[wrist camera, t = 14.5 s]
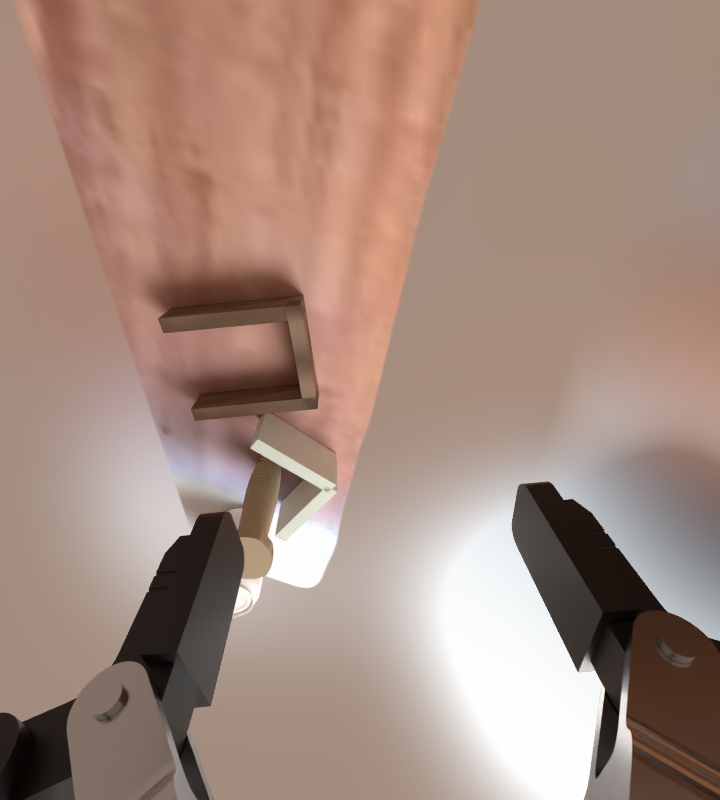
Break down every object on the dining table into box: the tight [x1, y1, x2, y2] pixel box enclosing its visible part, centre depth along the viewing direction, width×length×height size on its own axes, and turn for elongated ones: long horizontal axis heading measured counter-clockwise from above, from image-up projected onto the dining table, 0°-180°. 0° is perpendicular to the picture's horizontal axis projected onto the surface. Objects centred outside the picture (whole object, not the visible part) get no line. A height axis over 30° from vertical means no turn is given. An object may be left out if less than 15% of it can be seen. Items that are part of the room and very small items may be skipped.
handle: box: [237, 456, 281, 579], centre depth 45 cm, size 5×6×15 cm
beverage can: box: [226, 508, 272, 617], centre depth 52 cm, size 8×8×12 cm
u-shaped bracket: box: [158, 296, 319, 421], centre depth 42 cm, size 12×14×4 cm
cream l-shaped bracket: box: [250, 413, 337, 541], centre depth 49 cm, size 17×9×6 cm, turn 5°
